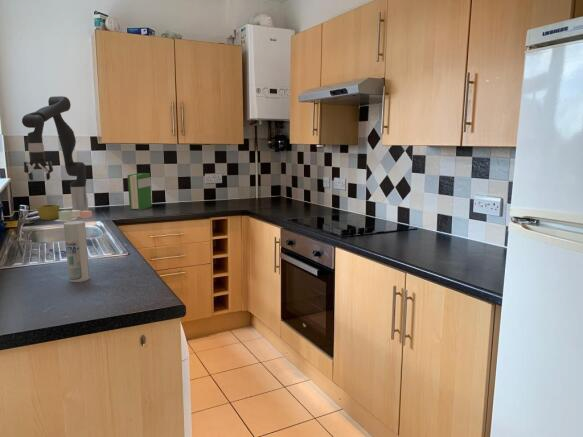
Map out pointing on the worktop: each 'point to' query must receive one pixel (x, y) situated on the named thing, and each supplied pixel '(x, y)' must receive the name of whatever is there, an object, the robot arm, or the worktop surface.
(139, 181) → the hardback book
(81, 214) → the coral brick
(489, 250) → the worktop surface
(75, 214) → the cream brick
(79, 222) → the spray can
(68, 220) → the birch board
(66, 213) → the sage brick
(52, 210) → the flower pot
